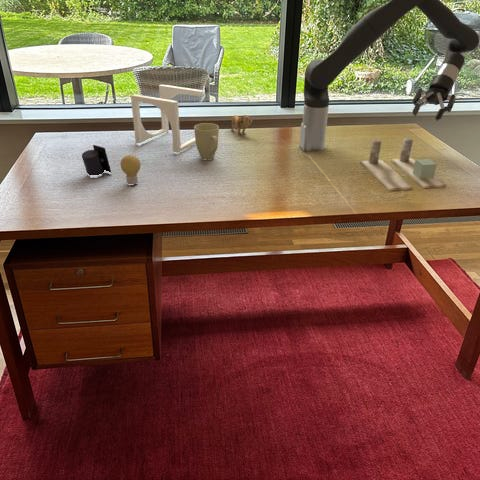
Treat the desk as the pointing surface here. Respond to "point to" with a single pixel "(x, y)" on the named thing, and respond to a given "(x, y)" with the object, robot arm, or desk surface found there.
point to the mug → (206, 139)
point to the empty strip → (384, 170)
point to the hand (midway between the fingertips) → (425, 117)
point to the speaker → (96, 160)
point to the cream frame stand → (163, 114)
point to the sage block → (424, 168)
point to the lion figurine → (240, 123)
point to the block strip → (408, 166)
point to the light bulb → (131, 168)
